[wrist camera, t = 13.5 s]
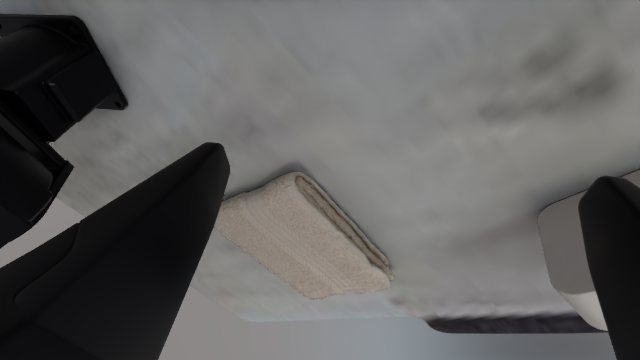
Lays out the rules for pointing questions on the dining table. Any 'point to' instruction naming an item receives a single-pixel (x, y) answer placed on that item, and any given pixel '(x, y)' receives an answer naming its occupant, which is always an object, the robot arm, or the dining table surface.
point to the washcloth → (304, 238)
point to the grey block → (571, 255)
